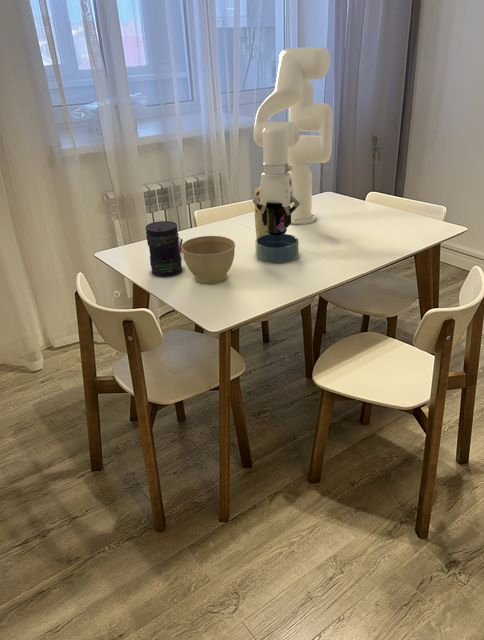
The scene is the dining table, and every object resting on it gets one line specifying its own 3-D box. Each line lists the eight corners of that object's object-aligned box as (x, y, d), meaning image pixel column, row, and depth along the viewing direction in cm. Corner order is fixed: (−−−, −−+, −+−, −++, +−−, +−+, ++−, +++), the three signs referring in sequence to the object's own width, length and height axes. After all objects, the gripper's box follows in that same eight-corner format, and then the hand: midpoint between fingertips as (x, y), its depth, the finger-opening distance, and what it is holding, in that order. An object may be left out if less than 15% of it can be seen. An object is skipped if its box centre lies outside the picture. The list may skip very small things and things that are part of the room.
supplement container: (274, 237, 173) (273, 205, 167) (262, 232, 178) (261, 200, 172) (291, 232, 176) (291, 201, 171) (279, 227, 181) (278, 196, 175)
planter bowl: (194, 292, 158) (190, 257, 152) (179, 273, 171) (175, 240, 165) (244, 282, 163) (243, 248, 158) (226, 264, 176) (224, 232, 170)
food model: (261, 246, 189) (260, 189, 179) (251, 241, 194) (248, 185, 184) (284, 240, 194) (283, 184, 184) (273, 235, 199) (272, 180, 188)
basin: (264, 247, 189) (264, 231, 186) (303, 250, 185) (303, 235, 182) (250, 261, 178) (249, 245, 175) (291, 266, 173) (291, 249, 170)
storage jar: (155, 265, 177) (148, 221, 169) (184, 265, 177) (179, 220, 169) (148, 277, 169) (141, 231, 161) (179, 277, 168) (174, 231, 160)
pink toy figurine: (167, 232, 185) (179, 239, 179) (180, 234, 188) (193, 240, 182) (163, 251, 187) (176, 258, 181) (176, 252, 191) (189, 259, 184)
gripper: (306, 167, 167) (305, 223, 176) (253, 165, 172) (255, 219, 181) (299, 173, 161) (298, 231, 170) (245, 170, 166) (247, 226, 175)
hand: (276, 224), depth 175 cm, fingers closed on supplement container, 6 cm apart
